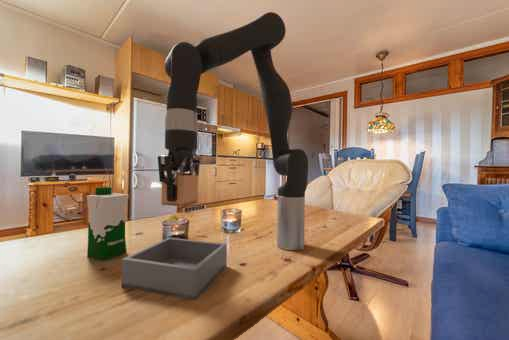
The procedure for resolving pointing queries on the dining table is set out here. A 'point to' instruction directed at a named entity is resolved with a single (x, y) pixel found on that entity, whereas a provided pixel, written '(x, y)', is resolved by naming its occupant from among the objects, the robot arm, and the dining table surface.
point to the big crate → (175, 267)
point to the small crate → (183, 191)
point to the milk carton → (106, 224)
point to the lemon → (173, 217)
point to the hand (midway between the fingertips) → (180, 199)
